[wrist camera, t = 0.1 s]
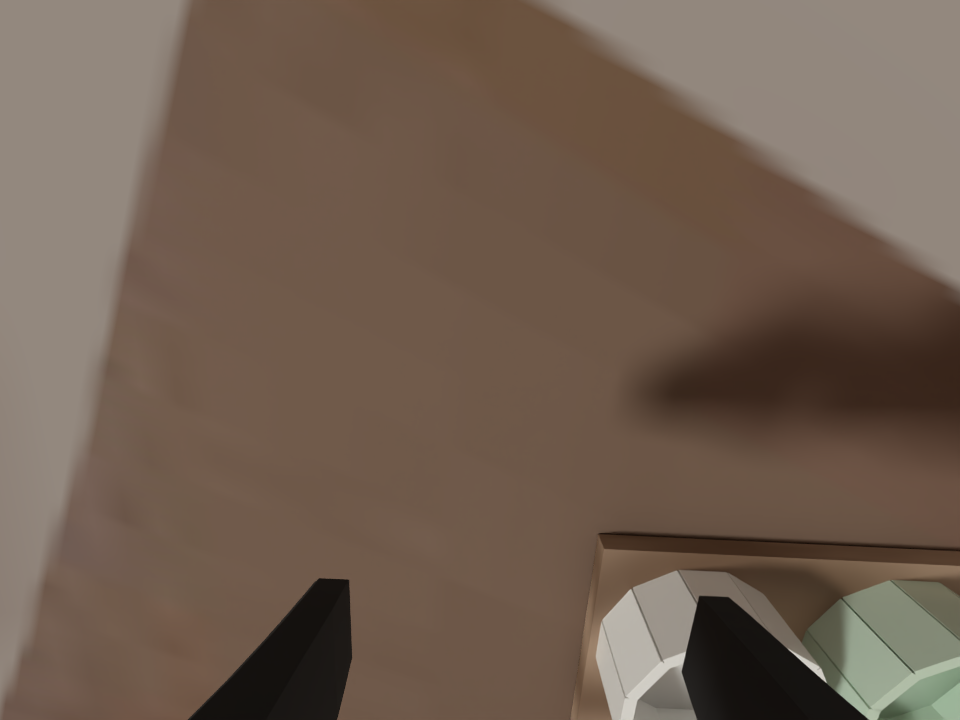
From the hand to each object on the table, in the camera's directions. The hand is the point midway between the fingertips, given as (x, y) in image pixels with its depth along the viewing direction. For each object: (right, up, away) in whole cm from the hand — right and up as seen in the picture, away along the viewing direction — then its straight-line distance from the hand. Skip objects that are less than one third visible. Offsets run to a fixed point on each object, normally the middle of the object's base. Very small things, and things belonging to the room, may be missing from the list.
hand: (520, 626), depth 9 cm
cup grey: (+9, -8, +12) cm, 17 cm away
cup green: (+18, -8, +12) cm, 23 cm away
